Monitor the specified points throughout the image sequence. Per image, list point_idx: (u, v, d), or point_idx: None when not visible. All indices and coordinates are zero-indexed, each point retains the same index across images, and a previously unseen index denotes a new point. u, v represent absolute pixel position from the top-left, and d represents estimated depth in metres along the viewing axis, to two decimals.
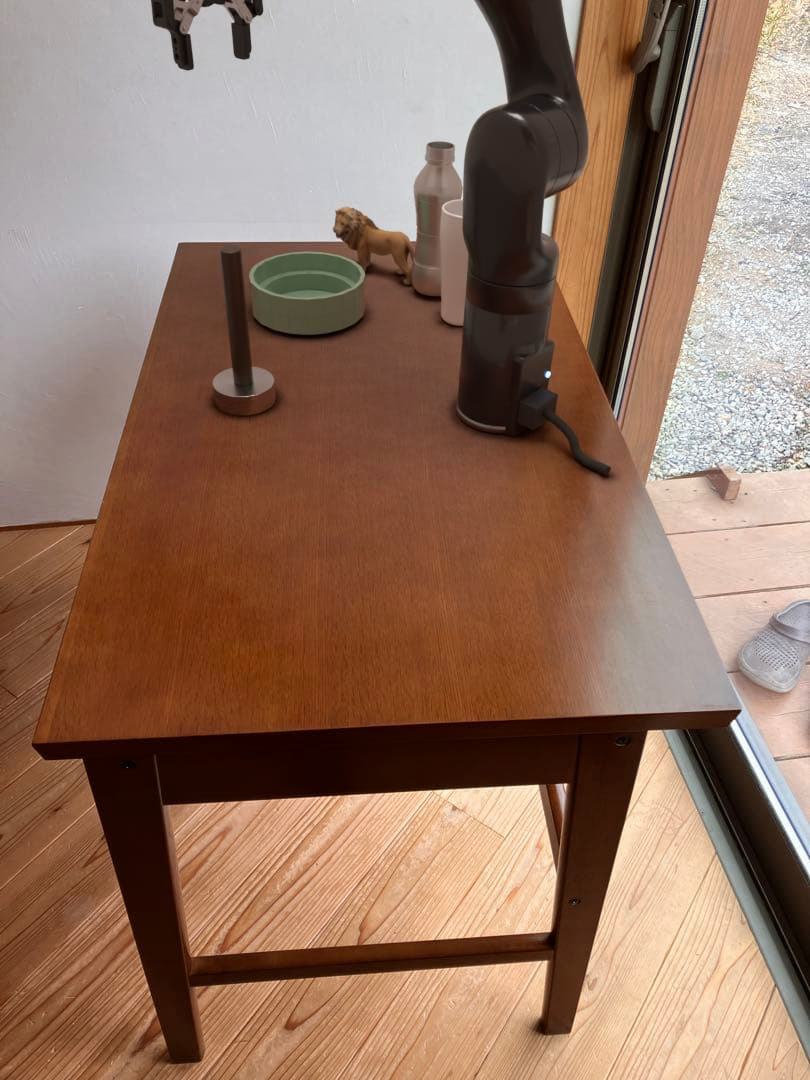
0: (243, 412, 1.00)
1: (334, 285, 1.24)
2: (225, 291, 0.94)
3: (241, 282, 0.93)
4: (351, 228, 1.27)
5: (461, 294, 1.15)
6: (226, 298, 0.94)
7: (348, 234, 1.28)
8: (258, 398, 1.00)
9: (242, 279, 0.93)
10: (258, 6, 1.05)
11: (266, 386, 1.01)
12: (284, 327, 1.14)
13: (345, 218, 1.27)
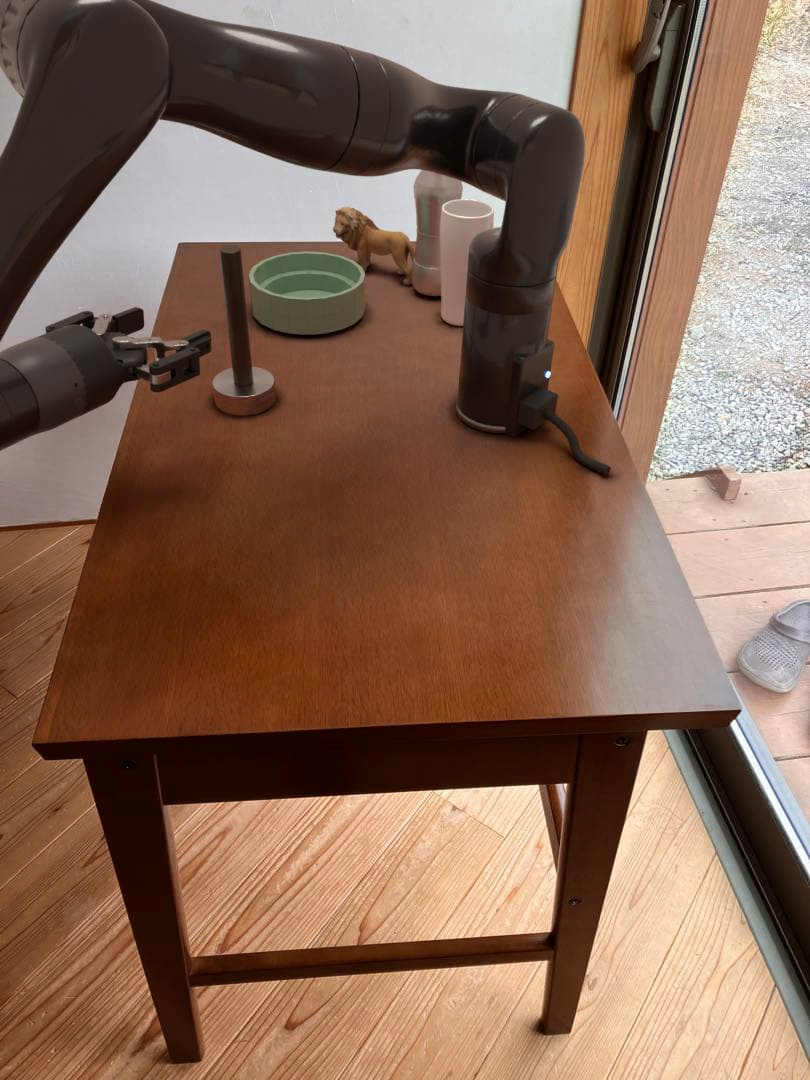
0: (243, 412, 1.00)
1: (334, 285, 1.24)
2: (225, 291, 0.94)
3: (241, 282, 0.93)
4: (351, 228, 1.27)
5: (461, 294, 1.15)
6: (226, 298, 0.94)
7: (348, 234, 1.28)
8: (258, 398, 1.00)
9: (242, 279, 0.93)
10: (84, 314, 0.86)
11: (266, 386, 1.01)
12: (284, 327, 1.14)
13: (345, 218, 1.27)
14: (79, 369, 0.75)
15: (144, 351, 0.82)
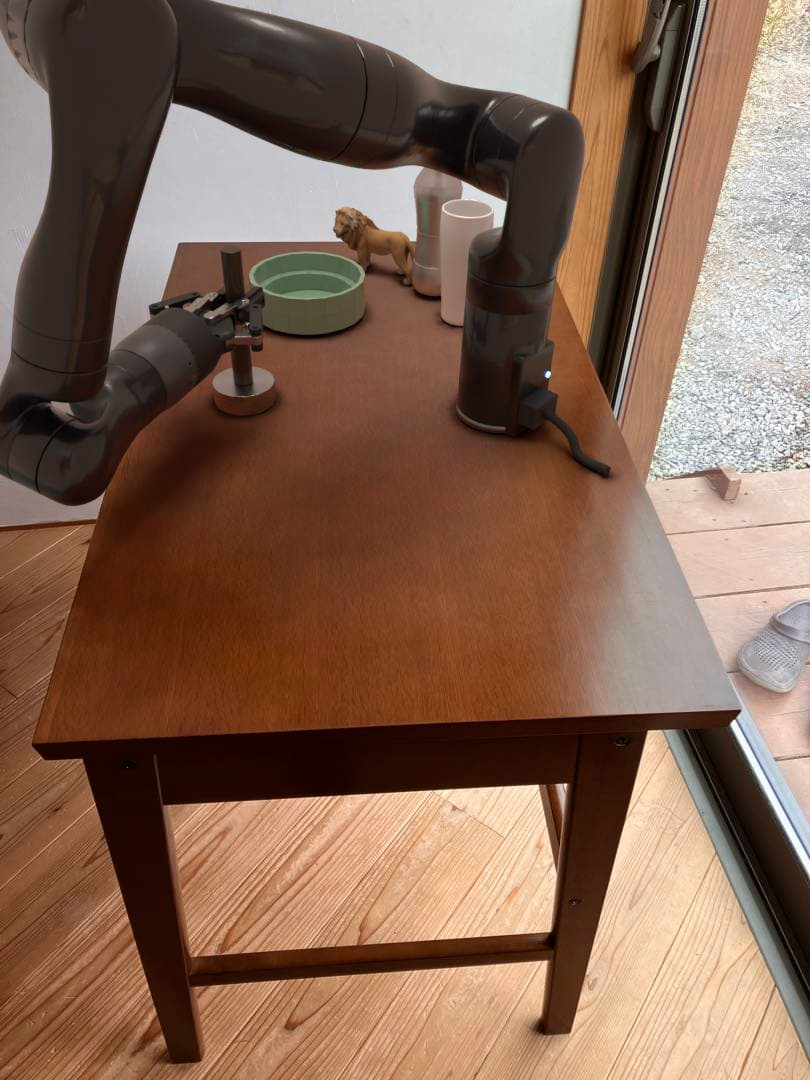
0: (243, 412, 1.00)
1: (334, 285, 1.24)
2: (225, 291, 0.94)
3: (241, 282, 0.93)
4: (351, 227, 1.27)
5: (461, 294, 1.15)
6: (226, 298, 0.94)
7: (348, 234, 1.28)
8: (258, 398, 1.00)
9: (242, 279, 0.93)
10: (191, 295, 0.94)
11: (266, 386, 1.01)
12: (284, 327, 1.14)
13: (345, 218, 1.27)
14: (190, 349, 0.83)
15: (232, 323, 0.90)
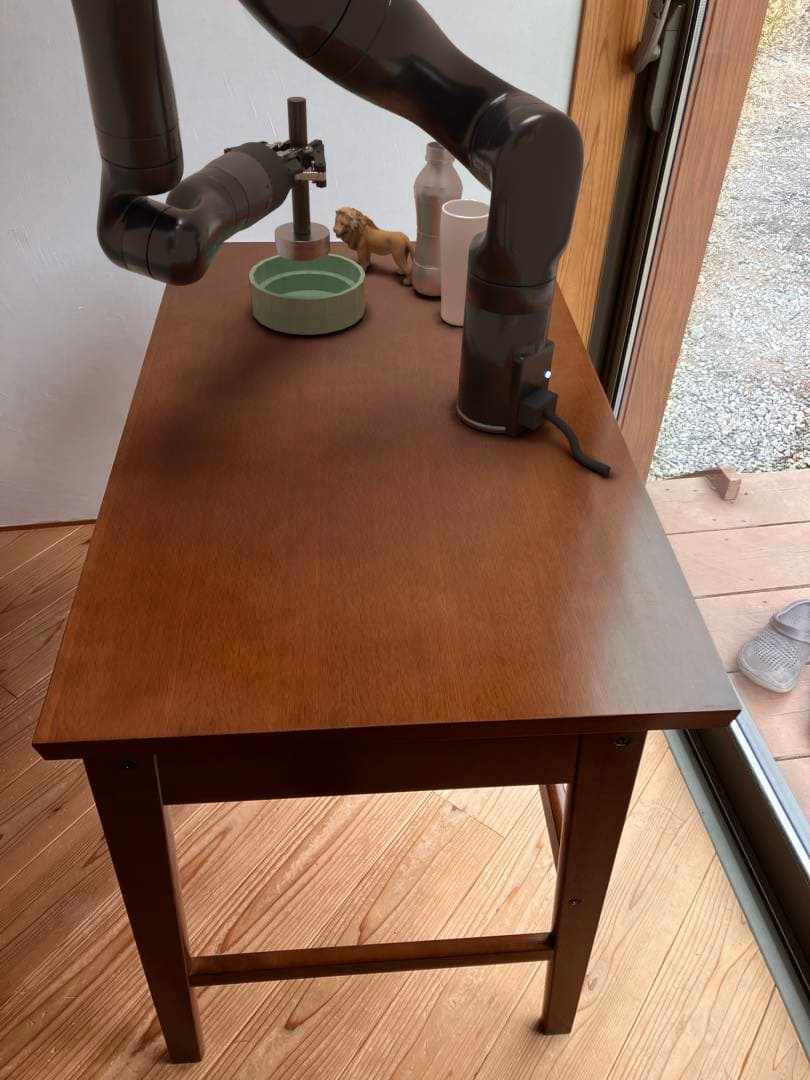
0: (302, 257, 1.11)
1: (334, 285, 1.24)
2: (290, 140, 1.05)
3: (305, 131, 1.04)
4: (351, 228, 1.27)
5: (461, 294, 1.15)
6: (291, 146, 1.05)
7: (348, 234, 1.28)
8: (316, 244, 1.11)
9: (306, 129, 1.05)
10: None
11: (323, 235, 1.12)
12: (284, 327, 1.14)
13: (345, 218, 1.27)
14: (267, 173, 0.94)
15: (299, 162, 1.01)
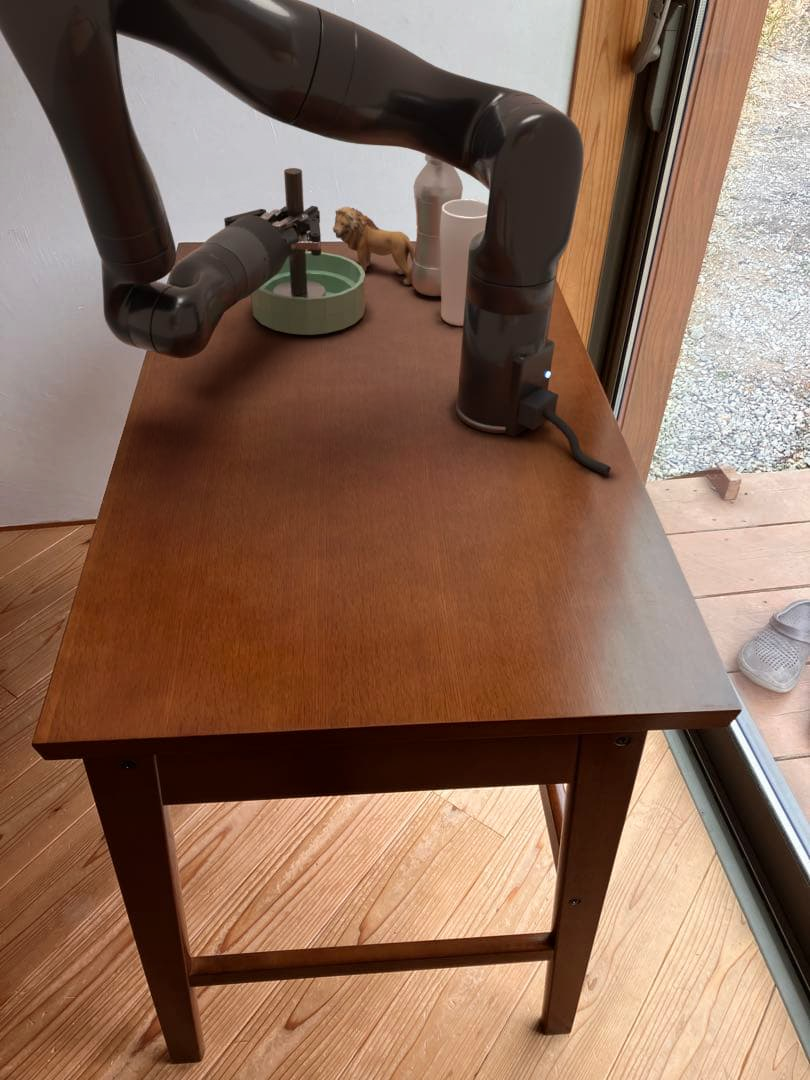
0: None
1: (334, 285, 1.24)
2: (287, 208, 1.11)
3: (301, 200, 1.10)
4: (352, 227, 1.27)
5: (461, 294, 1.15)
6: (288, 214, 1.11)
7: (348, 234, 1.28)
8: None
9: (302, 197, 1.10)
10: (259, 211, 1.11)
11: (319, 294, 1.18)
12: (284, 327, 1.14)
13: (345, 218, 1.27)
14: (264, 247, 1.00)
15: (295, 231, 1.07)
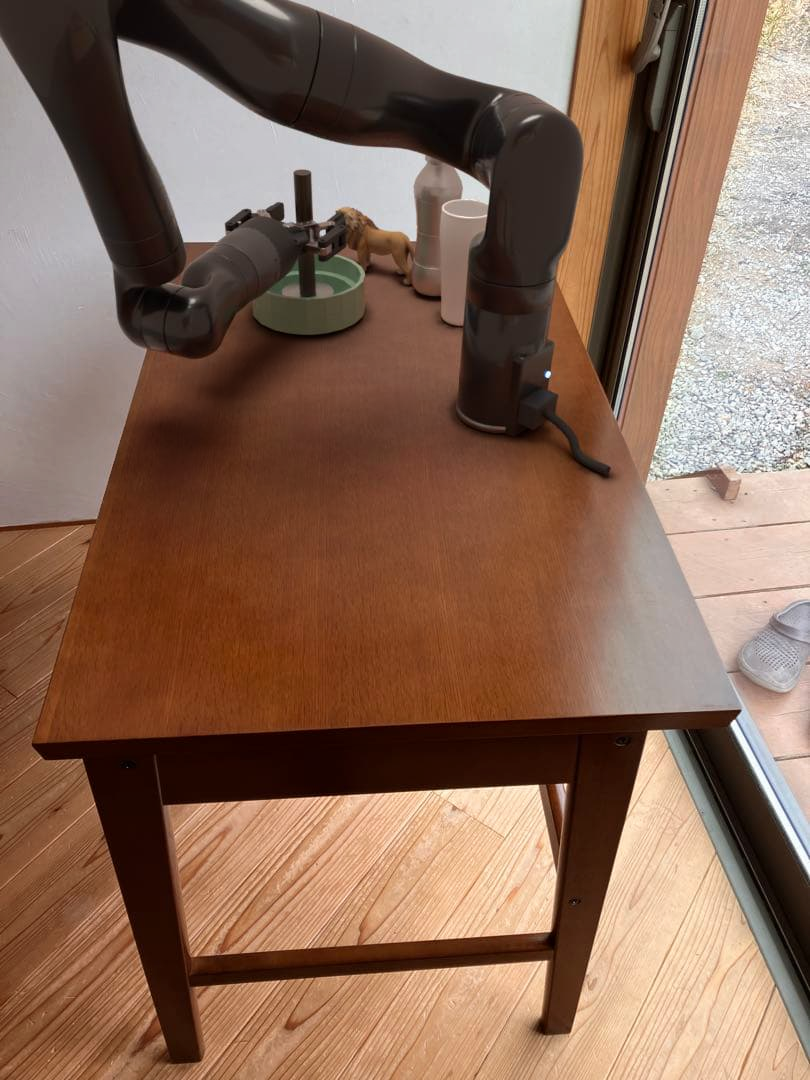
0: None
1: (334, 285, 1.24)
2: (297, 209, 1.11)
3: (310, 202, 1.10)
4: (351, 228, 1.27)
5: (461, 294, 1.15)
6: (297, 215, 1.11)
7: (348, 234, 1.28)
8: None
9: (311, 199, 1.11)
10: (245, 211, 1.11)
11: None
12: (284, 327, 1.14)
13: None
14: (275, 248, 1.00)
15: (305, 232, 1.07)
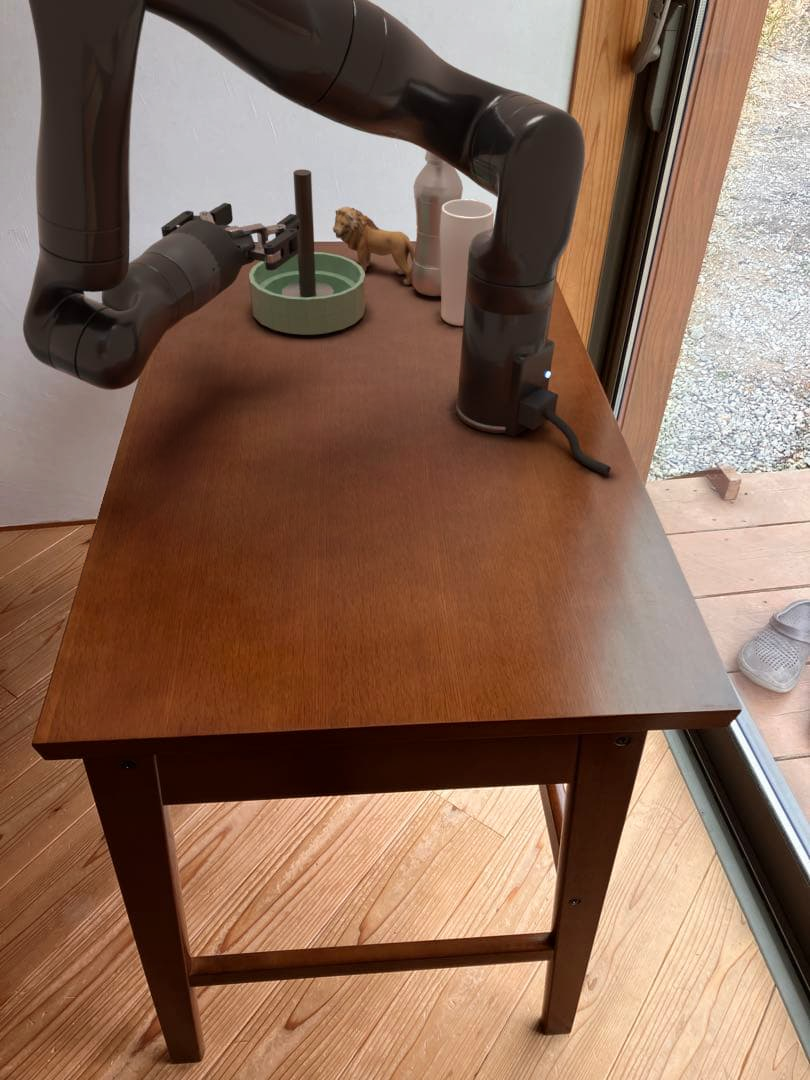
0: None
1: (334, 285, 1.24)
2: (297, 209, 1.11)
3: (310, 202, 1.10)
4: (351, 227, 1.27)
5: (461, 294, 1.15)
6: (297, 215, 1.11)
7: (348, 234, 1.28)
8: None
9: (311, 199, 1.11)
10: (186, 214, 0.99)
11: None
12: (284, 327, 1.14)
13: (345, 218, 1.27)
14: (213, 255, 0.89)
15: (251, 236, 0.95)
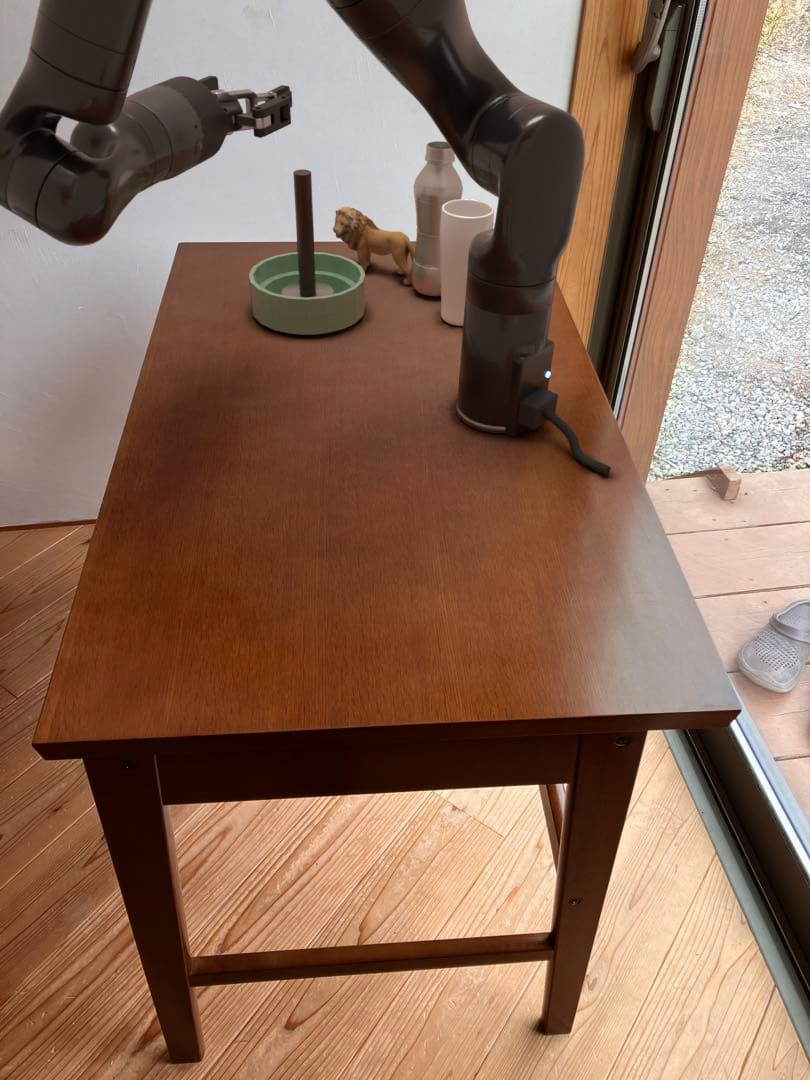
0: None
1: (334, 285, 1.24)
2: (297, 209, 1.11)
3: (310, 202, 1.10)
4: (352, 228, 1.27)
5: (461, 294, 1.15)
6: (297, 215, 1.11)
7: (348, 234, 1.28)
8: None
9: (311, 199, 1.11)
10: None
11: None
12: (284, 327, 1.14)
13: (345, 218, 1.27)
14: (196, 111, 0.80)
15: None
